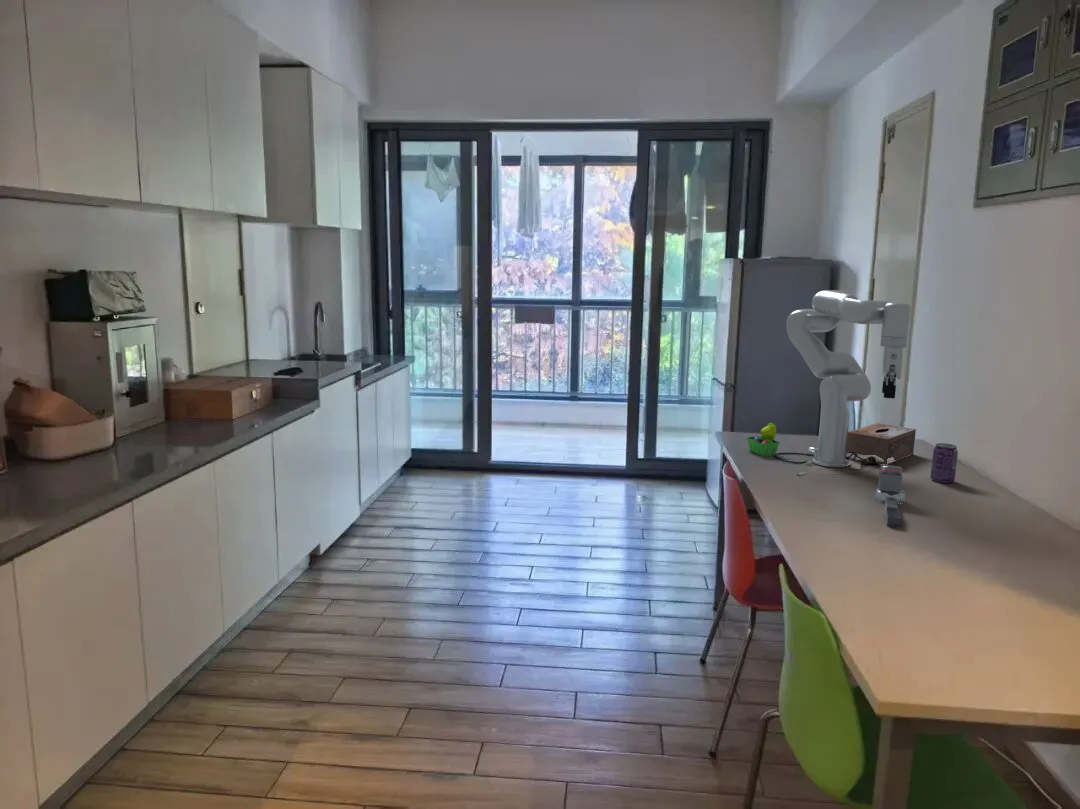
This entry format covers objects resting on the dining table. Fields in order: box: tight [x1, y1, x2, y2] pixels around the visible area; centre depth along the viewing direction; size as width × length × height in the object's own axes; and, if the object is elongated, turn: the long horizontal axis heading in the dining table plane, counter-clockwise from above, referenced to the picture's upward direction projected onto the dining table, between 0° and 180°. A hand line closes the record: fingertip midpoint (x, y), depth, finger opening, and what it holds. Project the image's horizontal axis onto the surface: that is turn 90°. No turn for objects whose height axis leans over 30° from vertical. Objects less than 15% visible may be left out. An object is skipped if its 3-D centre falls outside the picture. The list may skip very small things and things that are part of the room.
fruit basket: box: [746, 422, 781, 457], centre depth 285 cm, size 11×9×11 cm
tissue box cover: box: [846, 422, 917, 465], centre depth 284 cm, size 26×14×10 cm, turn 134°
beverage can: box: [930, 442, 959, 484], centre depth 252 cm, size 7×7×12 cm
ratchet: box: [874, 487, 906, 528], centre depth 220 cm, size 30×8×6 cm, turn 158°
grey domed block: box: [877, 464, 903, 493], centre depth 230 cm, size 6×6×7 cm
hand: (888, 395), depth 246 cm, fingers open, 9 cm apart
